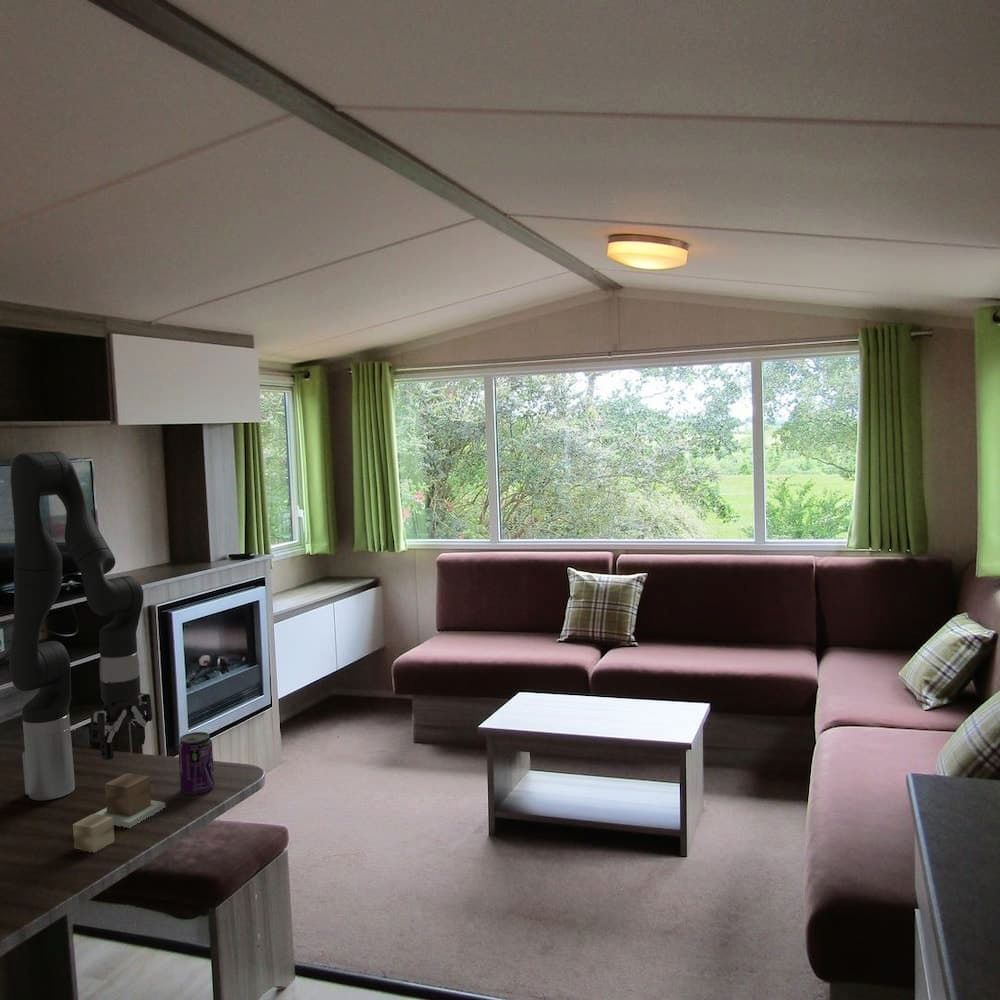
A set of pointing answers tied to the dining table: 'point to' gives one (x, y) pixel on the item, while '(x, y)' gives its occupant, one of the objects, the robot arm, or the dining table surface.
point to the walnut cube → (127, 794)
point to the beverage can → (196, 763)
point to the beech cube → (93, 833)
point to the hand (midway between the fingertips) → (123, 751)
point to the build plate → (134, 815)
